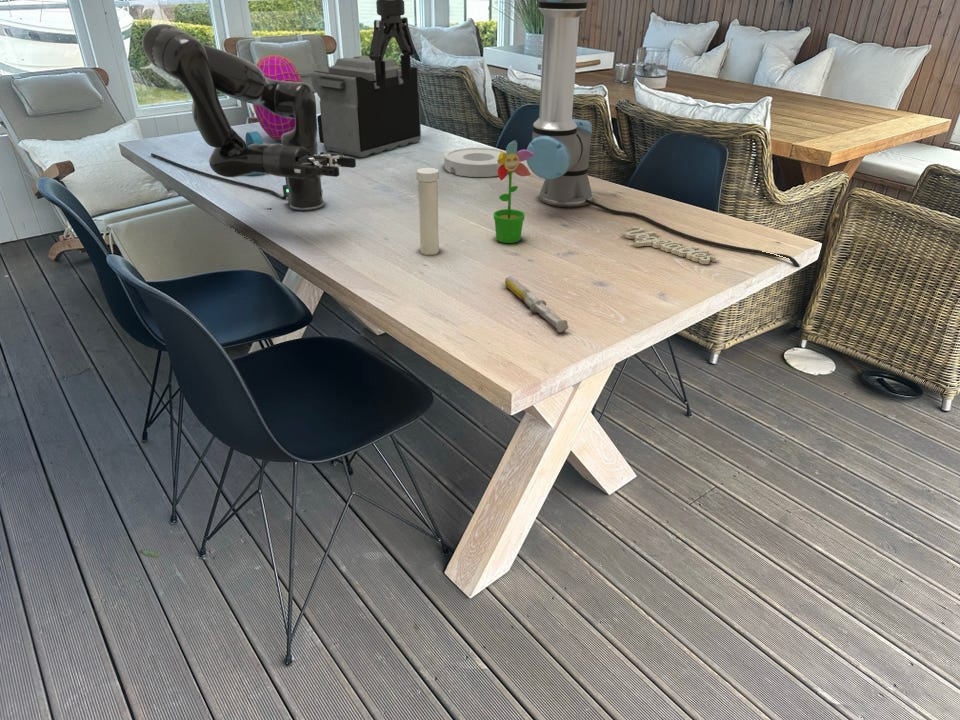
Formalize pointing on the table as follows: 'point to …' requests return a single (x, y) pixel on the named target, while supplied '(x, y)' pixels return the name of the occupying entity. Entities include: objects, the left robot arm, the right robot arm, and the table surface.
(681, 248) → the decorative sign
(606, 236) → the table surface
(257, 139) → the camera mount
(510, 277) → the syringe
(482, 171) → the white round base
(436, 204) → the beige long cylinder
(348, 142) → the portable cooler box
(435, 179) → the lid
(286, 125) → the decorative egg
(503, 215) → the potted flower
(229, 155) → the left robot arm
